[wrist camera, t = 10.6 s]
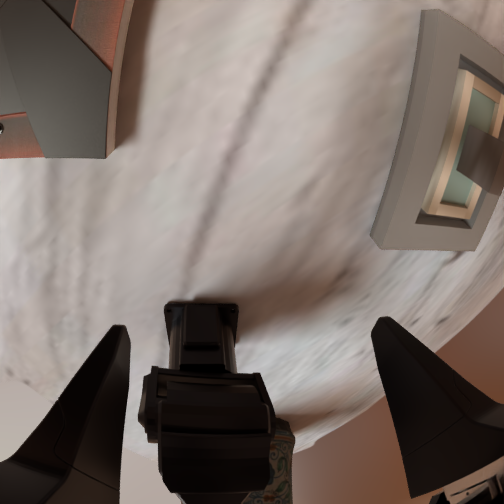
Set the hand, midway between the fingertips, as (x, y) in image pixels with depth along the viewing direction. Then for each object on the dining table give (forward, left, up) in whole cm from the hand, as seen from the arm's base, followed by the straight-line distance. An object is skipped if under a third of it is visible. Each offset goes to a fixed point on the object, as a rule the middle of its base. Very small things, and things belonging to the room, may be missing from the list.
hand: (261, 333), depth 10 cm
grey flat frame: (+6, -18, -12) cm, 22 cm away
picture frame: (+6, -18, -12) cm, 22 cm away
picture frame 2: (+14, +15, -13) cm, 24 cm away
